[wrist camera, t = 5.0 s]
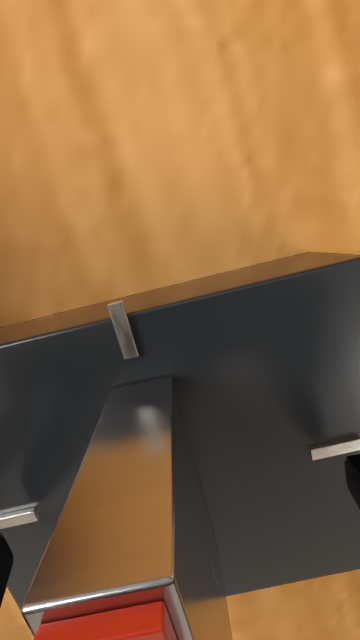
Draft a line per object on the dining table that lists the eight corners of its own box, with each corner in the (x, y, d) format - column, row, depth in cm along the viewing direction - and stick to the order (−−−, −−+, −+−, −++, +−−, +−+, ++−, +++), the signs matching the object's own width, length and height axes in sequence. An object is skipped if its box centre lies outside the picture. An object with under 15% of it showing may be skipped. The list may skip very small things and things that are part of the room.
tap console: (68, 551, 13) (35, 650, 9) (-37, 325, 10) (-131, 363, 7) (338, 493, 12) (394, 577, 9) (309, 240, 9) (375, 239, 6)
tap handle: (220, 560, 9) (273, 906, 4) (170, 570, 9) (168, 921, 4) (172, 374, 7) (174, 611, 3) (110, 388, 7) (2, 646, 3)
